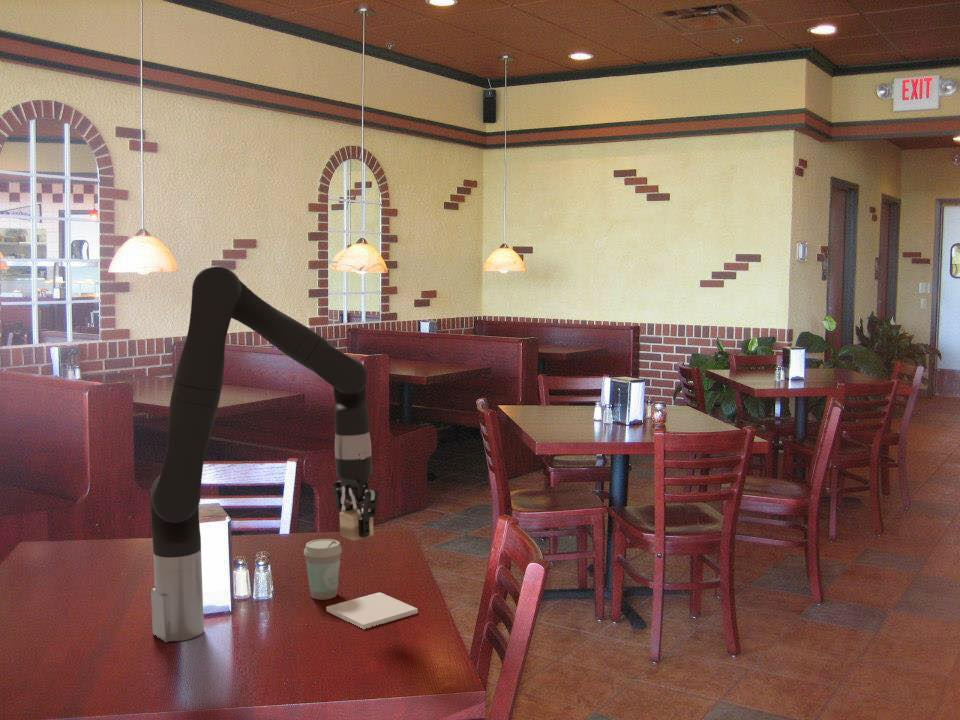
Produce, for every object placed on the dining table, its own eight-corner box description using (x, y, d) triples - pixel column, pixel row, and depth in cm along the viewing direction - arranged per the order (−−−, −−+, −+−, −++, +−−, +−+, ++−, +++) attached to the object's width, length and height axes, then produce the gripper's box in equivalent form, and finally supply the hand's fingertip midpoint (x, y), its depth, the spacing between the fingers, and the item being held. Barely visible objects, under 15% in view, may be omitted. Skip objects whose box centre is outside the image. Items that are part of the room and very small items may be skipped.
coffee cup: (323, 604, 217) (322, 551, 215) (296, 596, 222) (295, 544, 220) (350, 594, 223) (349, 542, 222) (324, 586, 228) (323, 536, 227)
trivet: (363, 629, 202) (363, 624, 202) (326, 611, 212) (326, 606, 212) (417, 613, 211) (417, 608, 211) (379, 596, 222) (379, 592, 222)
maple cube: (353, 540, 203) (352, 517, 202) (340, 535, 207) (339, 512, 206) (373, 535, 206) (372, 512, 206) (360, 530, 210) (359, 508, 209)
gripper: (319, 452, 208) (323, 530, 210) (356, 462, 197) (360, 544, 199) (349, 446, 212) (353, 523, 214) (387, 456, 201) (391, 537, 203)
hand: (357, 533), depth 206 cm, fingers closed on maple cube, 5 cm apart
